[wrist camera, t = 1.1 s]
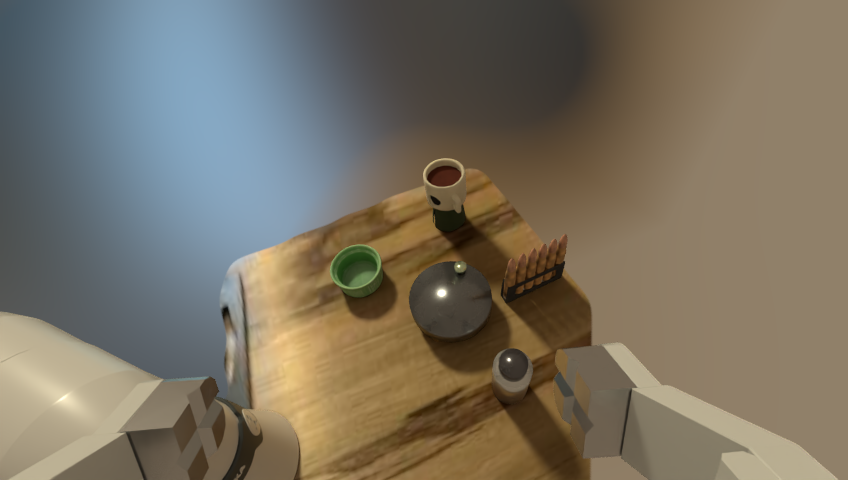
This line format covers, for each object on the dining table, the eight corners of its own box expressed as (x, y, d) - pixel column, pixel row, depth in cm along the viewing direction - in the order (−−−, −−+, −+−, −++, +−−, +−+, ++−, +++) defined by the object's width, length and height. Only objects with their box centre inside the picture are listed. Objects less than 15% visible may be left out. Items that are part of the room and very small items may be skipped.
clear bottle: (507, 411, 57) (512, 391, 48) (484, 383, 60) (484, 359, 51) (534, 389, 58) (543, 366, 49) (510, 362, 61) (514, 335, 52)
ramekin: (387, 296, 70) (382, 284, 66) (336, 304, 70) (328, 292, 67) (385, 254, 75) (380, 240, 71) (337, 261, 75) (330, 248, 72)
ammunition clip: (555, 268, 69) (567, 227, 59) (561, 277, 68) (574, 236, 58) (500, 294, 67) (503, 256, 58) (506, 303, 66) (509, 266, 57)
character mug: (421, 208, 80) (411, 160, 69) (453, 194, 81) (448, 145, 70) (444, 248, 74) (438, 203, 63) (479, 233, 75) (478, 186, 64)
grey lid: (444, 363, 62) (441, 352, 58) (398, 303, 69) (393, 289, 65) (508, 314, 65) (509, 300, 61) (458, 261, 72) (456, 246, 68)
